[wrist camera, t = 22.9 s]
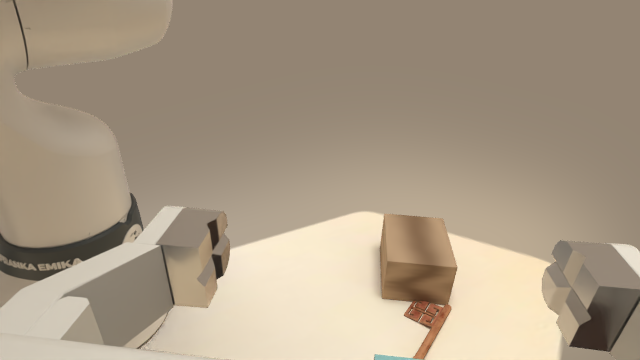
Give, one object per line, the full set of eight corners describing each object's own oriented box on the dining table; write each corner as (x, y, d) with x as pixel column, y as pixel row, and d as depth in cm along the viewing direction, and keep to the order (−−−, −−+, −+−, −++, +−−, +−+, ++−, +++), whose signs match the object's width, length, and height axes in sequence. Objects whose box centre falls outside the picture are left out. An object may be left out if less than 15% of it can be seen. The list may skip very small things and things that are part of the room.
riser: (382, 298, 49) (387, 261, 46) (380, 247, 57) (384, 213, 54) (447, 304, 48) (457, 267, 45) (435, 252, 57) (443, 218, 54)
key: (417, 298, 49) (357, 385, 38) (418, 292, 49) (357, 379, 38) (464, 316, 46) (412, 417, 35) (465, 310, 46) (413, 411, 35)
